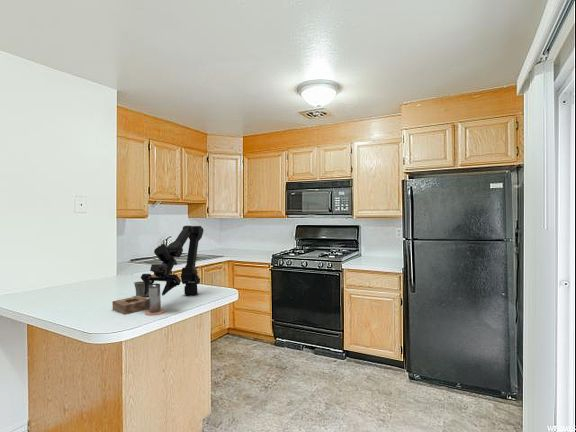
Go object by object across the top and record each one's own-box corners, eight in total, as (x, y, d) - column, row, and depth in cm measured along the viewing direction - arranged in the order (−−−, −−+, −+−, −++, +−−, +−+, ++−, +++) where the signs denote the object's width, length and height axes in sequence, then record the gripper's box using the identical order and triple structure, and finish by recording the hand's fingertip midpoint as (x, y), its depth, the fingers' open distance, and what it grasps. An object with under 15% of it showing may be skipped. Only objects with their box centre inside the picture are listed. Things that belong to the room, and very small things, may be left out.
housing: (138, 303, 176) (138, 295, 176) (151, 307, 168) (151, 299, 168) (112, 309, 166) (112, 301, 166) (125, 314, 158) (125, 305, 158)
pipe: (151, 298, 186) (151, 283, 186) (131, 297, 189) (130, 283, 189) (158, 295, 192) (157, 281, 192) (138, 294, 195) (138, 280, 195)
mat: (152, 308, 166) (152, 308, 166) (169, 309, 164) (169, 309, 164) (140, 314, 157) (140, 313, 157) (157, 315, 155) (157, 314, 155)
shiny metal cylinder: (158, 309, 164) (157, 283, 164) (162, 311, 160) (161, 284, 160) (147, 311, 160) (146, 284, 160) (152, 313, 157) (151, 286, 157)
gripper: (142, 257, 166) (127, 284, 156) (176, 257, 162) (164, 286, 152) (152, 270, 174) (139, 297, 164) (185, 271, 170) (174, 299, 160)
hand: (153, 294), depth 160 cm, fingers open, 9 cm apart
